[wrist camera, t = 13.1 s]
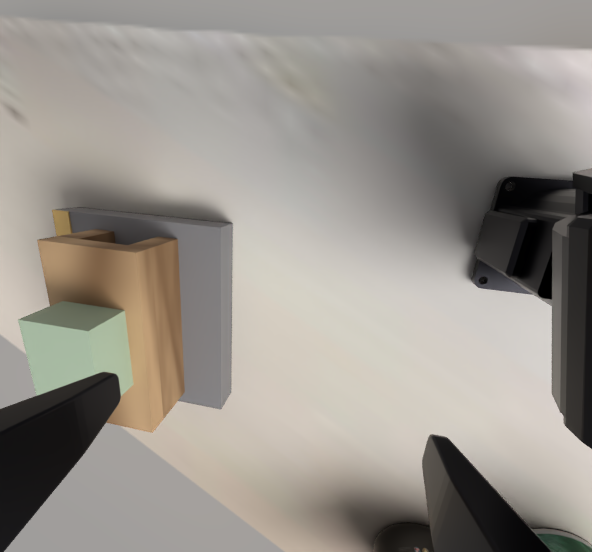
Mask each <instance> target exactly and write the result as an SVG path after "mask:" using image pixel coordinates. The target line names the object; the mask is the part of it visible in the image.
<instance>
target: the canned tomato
mask: <svg viewBox="0 0 592 552" xmlns="http://www.w3.org/2000/svg"><path fill="white" fill-rule="evenodd" d="M532 530H533V531H534V533H535V534H536V535H537V536H538V537H539V538H540V539H541V540H542V541H543V542H544V543H545V545H546V546H547V547H548V548H549V549H550V550H551V551H552V552H592V545H590V544H589V543H588V542H587V541H585V540H583V539H582V538H580V537H578V536H576V535H573V534H570V533H568V532H564V531H560V530H554V529H532Z"/></svg>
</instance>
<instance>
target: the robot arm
mask: <svg viewBox="0 0 592 552" xmlns="http://www.w3.org/2000/svg"><path fill="white" fill-rule="evenodd" d="M508 182H511V184H512V187H511V189H510V190H508V191H507V190H506V189H505V186H506V184H507V183H508ZM475 256H476V257H477V261H476V265H475V268H474V272H473V276H472V282H473V284H475V285H476V286H477V287H479V288H483V289H491V290H500V291H508V292H516V293H524V294H532V295H535V296H537V297H538V298H540V299H541V300H543V301H545V302H546V303H548V304H549V305H551V306H552V395H553V397H554V399H555V402H556V404H557V406H558V408H559V410H560V412H561V413H562V414H563V416H564V424H565V426H566V427H567V428H568V429H569V430H570V431H571V432H572V433H573V434H574V435H575V436H576V437H577V438H578V439H579V440H581V441H582V442H583V443H584V444H586V445H587V446H588V447H590V448H591V449H592V168H591V169H586V170H581V171H577V172H573V181H565V180H551V179H537V178H523V177H505V178H503V179H502V180H501V181H499V183H498V185H497V188H496V192H495V196H494V199H493V203H492V207H491V210H490V211H489V212H487V213H486V214H485V216H484V220H483V224H482V228H481V231H480V235H479V239H478V242H477V246H476V250H475ZM481 277H485V280H484V281H483V282H479V279H480V278H481ZM120 399H121V392H120V384H119V377H118V376H117V374H115V373H110V372H101V373H98V374H95V375H92V376H90V377H87V378H84V379H81V380H79V381H76V382H73V383H70V384H68V385H65V386H62V387H59V388H57V389H54V390H51V391H48V392H46V393H43V394H40V395H38V396H35V397H33V398H29V399H27V400H24V401H21V402H18V403H16V404H13V405H10V406H8V407H5V408H2V409H0V552H4V551H5V550H6V548H7V547H8V546H9V545H10V543H11V542H12V541H13V540H14V539H15V537H16V536H17V535H18V534H19V532H20V531H21V530H22V529H23V528H24V526H25V525H26V524H27V523H28V521H29V520H30V519H31V518H32V517H33V516H34V514H35V513H36V512H37V511H38V509H39V508H40V507H41V506H42V505H43V503H44V502H45V501H46V500H47V498H48V497H49V496H50V495H51V494H52V492H53V491H54V490H55V489H56V487H57V486H58V485H59V484H60V483H61V481H62V480H63V479H64V478H65V477H66V475H67V474H68V473H69V472H70V470H71V469H72V468H73V467H74V466H75V464H76V463H77V462H78V461H79V459H80V458H81V457H82V456H83V454H84V453H85V452H86V450H87V449H88V448H89V446H90V445H91V443H92V442H93V440H94V439H95V438H96V436H97V435H98V433H99V432H100V430H101V429H102V427H103V426H104V424H105V423H106V422H107V420H108V419H109V417H110V416H111V415H112V413H113V412H114V410H115V409H116V407H117V406H118V404H119V402H120ZM422 467H423V476H424V483H425V491H426V499H427V507H428V515H429V523H430V530H431V536H432V541H433V546H434V551H435V552H552V551H551V550H550V549H549V548H548V547H547V546H546V545H545V543H544V542H543V541H542V540H541V539H540V538H539V537H538V536H537V535H536V534H535V533H534V531H533V530H532V529H531V528H530V527H529V526H528V525H527V524H526V523H525V522H524V521H523V519H522V518H521V517H520V516H519V515H518V514H517V513H516V512H515V511H514V510H513V509H512V507H511V506H510V505H509V504H508V503H507V502H506V501H505V500H504V499H503V498H502V496H501V495H500V494H499V493H498V492H497V491H496V490H495V489H494V488H493V487H492V486H491V484H490V483H489V482H488V481H487V480H486V479H485V478H484V477H483V476H482V475H481V474H480V472H479V471H478V470H477V469H476V468H475V467H474V466H473V465H472V464H471V463H470V462H469V460H468V459H467V458H466V457H465V456H464V455H463V454H462V453H461V452H460V451H459V449H458V448H457V447H456V446H455V445H454V444H453V443H452V442H451V441H450V440H449V439H448V438H447V437H444V436H439V435H433V434H432V435H430V436H429V438H428V441H427V444H426V448H425V452H424V455H423V460H422Z"/></svg>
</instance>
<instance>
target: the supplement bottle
mask: <svg viewBox="0 0 592 552" xmlns="http://www.w3.org/2000/svg"><path fill="white" fill-rule="evenodd" d="M373 552H435V551H434V546H433V541H432V536H431V530H430V528H429V527H426V526H423V525H420V524H414V523H400V524H395V525H391V526H389V527H387V528H385V529H384V530H383V531H381V532H380V533H379V535H378V536H377V538H376V540H375V542H374V546H373Z"/></svg>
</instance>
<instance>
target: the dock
mask: <svg viewBox="0 0 592 552" xmlns="http://www.w3.org/2000/svg"><path fill="white" fill-rule="evenodd" d="M52 212H53V218H54V224H55V229H56V235H57V236H61V235H67V234H72V233H77V232H83V231H88V230H93V229H99V230H107V231H114V235H115V244H123V245H130V244H134V243H137V242H141V241H144V240H148V239H151V238H155V237H166V238H174V239H178V254H179V276H180V298H181V320H182V342H183V364H184V386H185V392H184V394H183V395H182V396H181V397H180V399H179V400H178V401H182V402H187V403H192V404H197V405H202V406H207V407H212V408H217V409H222V407H223V405H224V404H225V402H226V400H227V398H228V397H229V395H230V393H231V343H232V232H233V224H232V223H223V222H213V221H204V220H194V219H185V218H175V217H166V216H156V215H147V214H137V213H128V212H118V211H109V210H100V209H90V208H81V207H76V208H66V209H56V210H52Z"/></svg>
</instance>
